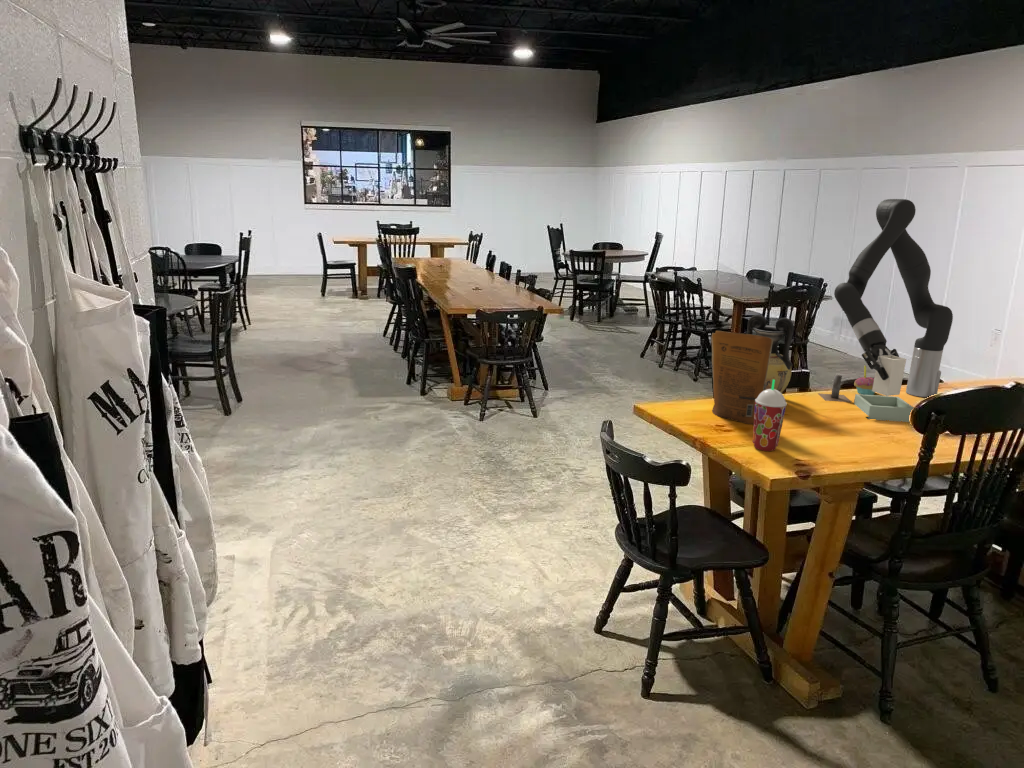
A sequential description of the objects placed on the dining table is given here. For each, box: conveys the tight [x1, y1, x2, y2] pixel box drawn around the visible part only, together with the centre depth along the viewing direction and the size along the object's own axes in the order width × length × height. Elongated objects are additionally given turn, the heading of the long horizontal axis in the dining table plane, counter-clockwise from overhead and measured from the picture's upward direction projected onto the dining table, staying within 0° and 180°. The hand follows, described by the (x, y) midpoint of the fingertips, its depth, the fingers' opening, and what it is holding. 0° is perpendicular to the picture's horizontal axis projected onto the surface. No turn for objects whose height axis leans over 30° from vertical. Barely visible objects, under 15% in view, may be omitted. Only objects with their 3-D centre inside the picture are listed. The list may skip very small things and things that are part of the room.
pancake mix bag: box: [710, 330, 773, 425], centre depth 227 cm, size 7×19×28 cm, turn 46°
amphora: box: [746, 314, 795, 394], centre depth 247 cm, size 18×17×30 cm
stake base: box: [817, 374, 853, 403], centre depth 254 cm, size 9×9×9 cm
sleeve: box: [872, 355, 907, 396], centre depth 238 cm, size 6×6×12 cm
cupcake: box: [853, 365, 876, 395], centre depth 261 cm, size 9×8×12 cm
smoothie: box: [752, 379, 788, 452], centre depth 203 cm, size 8×8×20 cm
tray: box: [853, 393, 915, 423], centre depth 241 cm, size 14×14×4 cm
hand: (893, 378), depth 236 cm, fingers closed on sleeve, 5 cm apart
